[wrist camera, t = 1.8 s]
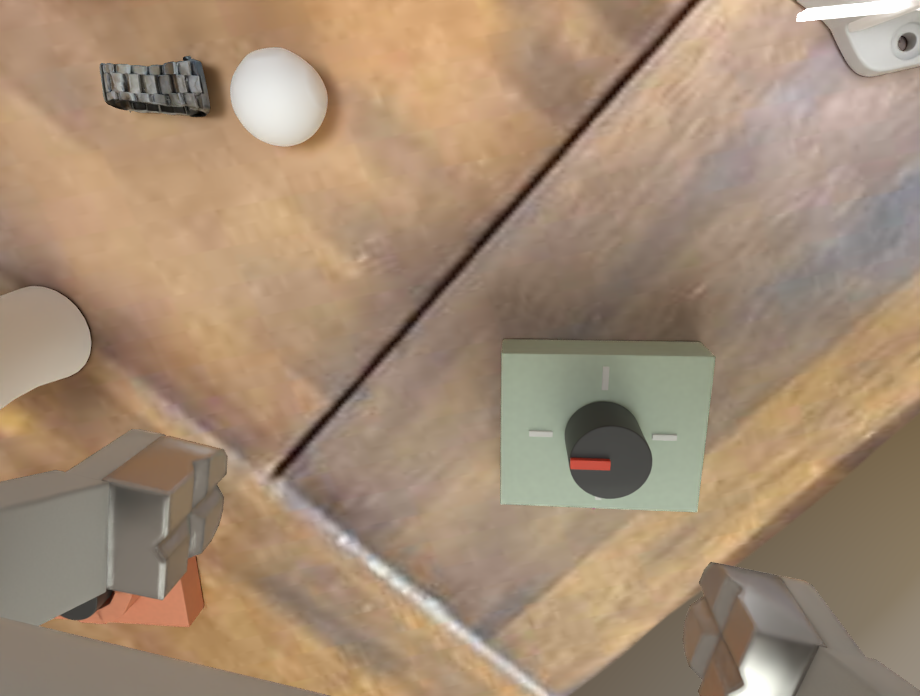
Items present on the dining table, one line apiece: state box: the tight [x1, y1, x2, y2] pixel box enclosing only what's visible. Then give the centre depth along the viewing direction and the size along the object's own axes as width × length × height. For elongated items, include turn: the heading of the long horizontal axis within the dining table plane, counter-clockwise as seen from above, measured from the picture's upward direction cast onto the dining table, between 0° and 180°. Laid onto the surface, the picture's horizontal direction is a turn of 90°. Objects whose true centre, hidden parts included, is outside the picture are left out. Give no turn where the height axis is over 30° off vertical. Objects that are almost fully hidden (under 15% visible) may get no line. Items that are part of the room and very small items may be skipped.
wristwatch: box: [100, 56, 210, 117], centre depth 32 cm, size 3×5×5 cm
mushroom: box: [230, 47, 328, 146], centre depth 31 cm, size 5×5×5 cm
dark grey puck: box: [60, 589, 113, 620], centre depth 40 cm, size 4×4×2 cm
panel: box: [500, 339, 716, 512], centre depth 36 cm, size 12×10×3 cm
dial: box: [565, 401, 652, 499], centre depth 33 cm, size 4×4×4 cm
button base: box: [55, 556, 204, 627], centre depth 42 cm, size 12×10×4 cm
